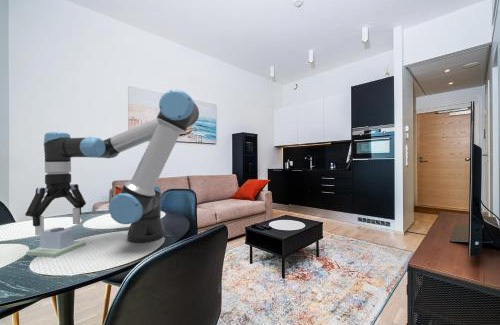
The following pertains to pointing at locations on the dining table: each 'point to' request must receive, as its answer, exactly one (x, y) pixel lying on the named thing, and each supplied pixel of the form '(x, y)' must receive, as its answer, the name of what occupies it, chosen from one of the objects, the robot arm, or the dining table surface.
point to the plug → (57, 238)
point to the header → (54, 250)
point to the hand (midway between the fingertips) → (59, 229)
